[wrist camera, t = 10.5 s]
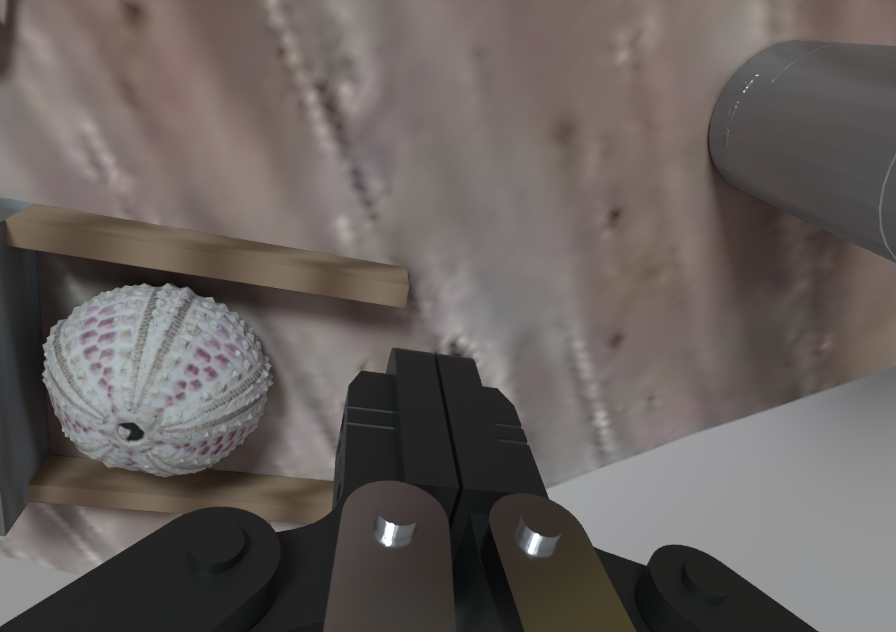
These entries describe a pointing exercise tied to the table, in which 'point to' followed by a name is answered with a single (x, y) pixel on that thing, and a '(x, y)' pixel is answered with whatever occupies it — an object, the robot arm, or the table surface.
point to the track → (165, 248)
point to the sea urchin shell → (155, 379)
